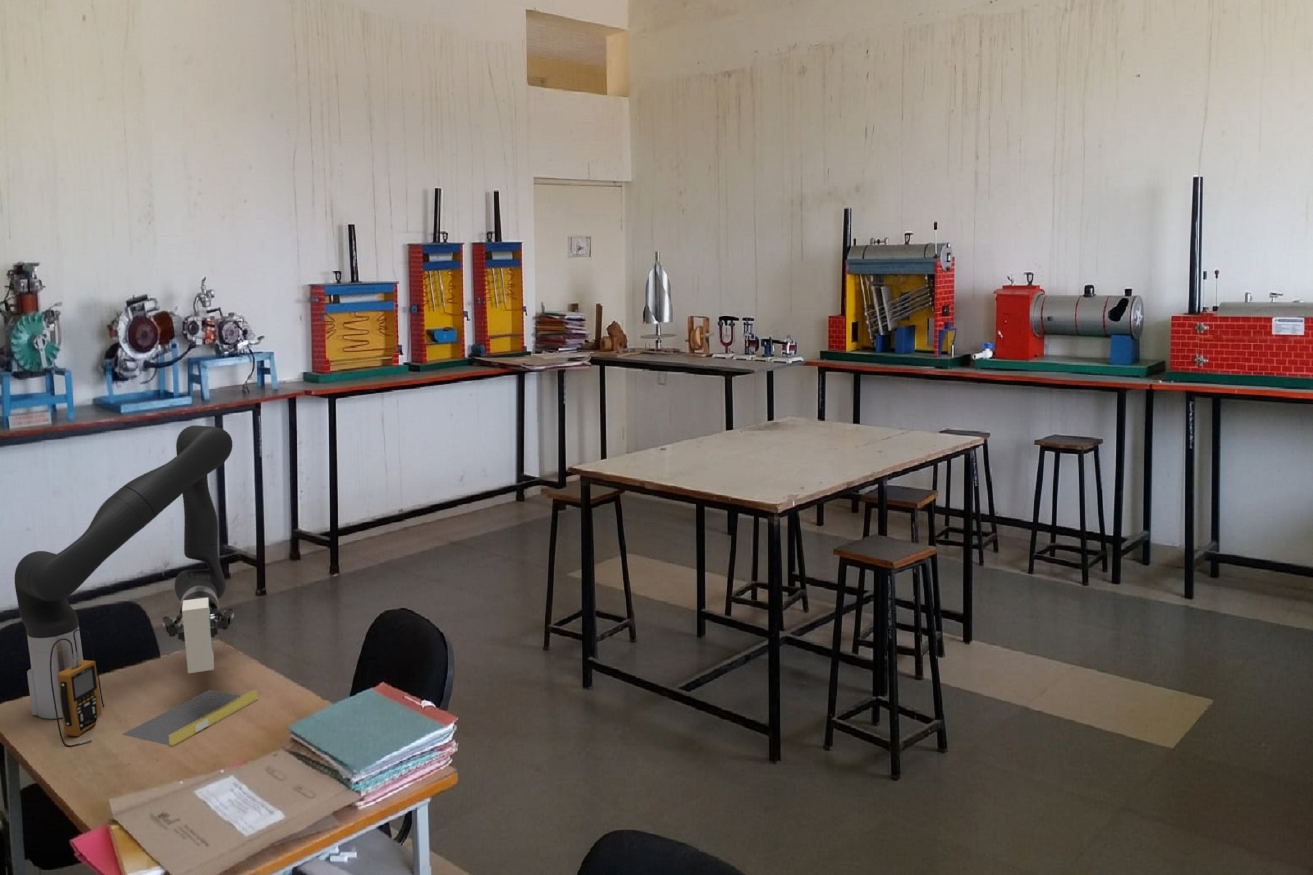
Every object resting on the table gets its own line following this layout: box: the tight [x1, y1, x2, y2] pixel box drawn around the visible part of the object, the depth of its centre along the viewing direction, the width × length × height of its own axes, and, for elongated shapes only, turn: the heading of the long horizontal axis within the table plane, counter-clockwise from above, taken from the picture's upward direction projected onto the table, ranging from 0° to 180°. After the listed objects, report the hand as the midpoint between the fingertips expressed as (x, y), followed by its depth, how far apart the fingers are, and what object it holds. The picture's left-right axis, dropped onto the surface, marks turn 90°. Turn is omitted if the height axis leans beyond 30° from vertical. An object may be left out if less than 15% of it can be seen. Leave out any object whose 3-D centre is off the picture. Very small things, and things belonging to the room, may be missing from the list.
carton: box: [182, 598, 215, 674], centre depth 214 cm, size 5×6×13 cm
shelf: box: [122, 689, 259, 747], centre depth 213 cm, size 13×22×4 cm, turn 157°
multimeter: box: [50, 628, 105, 748], centre depth 209 cm, size 15×10×20 cm
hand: (198, 634), depth 212 cm, fingers closed on carton, 4 cm apart
